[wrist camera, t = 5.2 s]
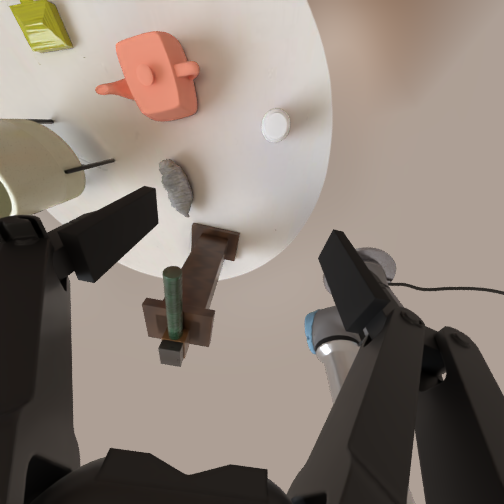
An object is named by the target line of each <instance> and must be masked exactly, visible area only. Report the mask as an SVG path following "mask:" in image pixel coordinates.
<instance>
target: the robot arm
mask: <svg viewBox="0 0 504 504" xmlns="http://www.w3.org/2000/svg"><path fill="white" fill-rule="evenodd" d="M157 224H158V211H157V199H156V189H155V188H151V187H147V186H144V187H142V188H140V189H138V190H136V191H134V192H132V193H130V194H128V195H126V196H124V197H122V198H121V199H119V200H117V201H115V202H113V203H111V204H109V205H107V206H105V207H103V208H101V209H99V210H97V211H94V212H90V213H86V214H83V215H81V216H79V217H77V218H76V219H74V220H72V221H70V222H69V223H66V224H64V225H62V226H60V227H58V228H56V229H54V230H52V231H50V232H48V233H47V232H46V230H45V228H44V226H43V224H42V222H41V220H40V218H38V217H36V216H32V215H13V216H7V217H3V218H0V504H415V502H414V499H413V497H412V494H411V492H410V489H409V487H408V485H409V476H410V467H411V458H412V449H413V440H414V439H413V438H414V430H415V433H416V440H417V447H418V454H419V460H420V467H421V474H422V481H423V487H424V494H425V501H426V504H504V396H503V394H502V392H501V390H500V388H499V386H498V384H497V382H496V381H495V379H494V377H493V375H492V373H491V371H490V369H489V367H488V365H487V364H486V362H485V360H484V358H483V356H482V354H481V353H480V351H479V349H478V347H477V346H476V344H474V342H473V341H472V340H471V339H470V338H469V337H468V336H467V335H465V334H464V333H462V332H460V331H458V330H456V329H454V328H451V327H446V326H445V327H444V328H442V329H441V330H440V331H438V332H437V331H435V330H433V329H430V328H428V327H426V326H425V324H424V322H423V321H422V320H421V319H420V318H419V317H418V316H417V315H416V314H415V313H413V312H412V311H410V310H408V309H406V308H404V307H403V305H402V304H401V303H400V301H399V300H398V299H397V297H396V296H395V295H394V293H393V292H392V291H391V289H390V288H389V286H388V285H390V286H407V287H410V288H413V289H416V290H421V291H439V290H478V291H488V292H494V293H499V294H503V295H504V292H503V291H498V290H493V289H487V288H475V287H442V288H420V287H416V286H413V285H410V284H406V283H387V280H386V273H385V270H384V269H383V268H382V266H381V265H380V264H379V263H377V262H375V261H372V260H362V258H361V257H360V256H359V254H358V253H357V251H356V250H355V248H354V247H353V245H352V244H351V243H350V241H349V240H348V238H347V237H346V235H345V234H344V232H342V231H338V230H333V231H332V233H331V235H330V237H329V238H328V241H327V242H326V244H325V246H324V248H323V250H322V252H321V254H320V256H319V258H318V259H319V262H320V264H321V267H322V270H323V272H324V275H325V278H326V281H327V283H328V286H329V289H330V291H331V294H332V297H333V299H334V302H335V304H336V306H333V307H329V308H325V309H321V310H320V309H319V310H316V311H314V312H311V313H309V314H308V315H307V316H306V318H305V333H306V337H307V342H308V346H309V348H310V350H311V352H312V353H313V354H316V356H317V358H318V359H319V360H320V361H321V362H322V363H324V365H325V370H326V374H327V379H328V383H329V387H330V391H331V396H332V401H333V407H332V409H331V411H330V413H329V416H328V418H327V420H326V422H325V424H324V426H323V428H322V431H321V433H320V435H319V437H318V439H317V441H316V444H315V446H314V448H313V450H312V452H311V455H310V456H309V459H308V460H307V462H306V464H305V465H304V467H303V468H302V469H301V471H300V472H299V473H298V475H297V476H296V478H295V479H294V481H293V483H292V485H291V487H290V488H289V491H288V493H287V495H286V494H285V493H284V492H283V491H282V490H281V489H280V488H279V487H278V486H277V485H276V484H274V483H273V482H272V481H271V480H269V479H268V478H267V469H260V468H253V467H245V466H238V465H227V466H223V467H219V468H215V469H211V470H208V471H204V472H200V473H196V474H192V475H186V474H184V473H182V472H180V471H179V470H177V469H175V468H174V467H172V466H170V465H168V464H167V463H165V462H164V461H162V460H160V459H159V458H157V457H155V456H154V455H152V454H150V453H143V452H136V451H129V450H121V449H114V448H110V450H109V452H108V453H107V456H106V457H104V458H100V459H98V460H95V461H92V462H90V463H88V464H85V465H83V466H81V467H80V455H79V447H78V443H77V440H76V437H75V434H74V428H73V393H72V392H73V391H72V349H71V348H72V347H71V303H70V302H71V301H70V280H69V278H68V275H70V274H71V273H72V272H73V271H75V273H76V276H77V278H78V280H82V281H87V282H92V283H95V282H96V281H97V280H98V279H99V278H100V277H101V276H102V275H103V274H105V273H106V272H107V271H108V270H109V269H110V268H111V267H112V266H113V265H114V264H115V263H116V262H118V261H119V260H120V259H121V258H122V257H123V256H124V255H125V254H126V253H127V252H128V251H129V250H130V249H131V248H133V247H134V246H135V245H136V244H137V243H138V242H139V241H140V240H141V239H142V238H143V237H144V236H145V235H147V234H148V233H149V232H150V231H151V230H152V229H153V228H154V227H155V226H156V225H157ZM445 372H446V373H447V374H446V378H445V380H444V381H443V378H442V374H444V373H445Z"/></svg>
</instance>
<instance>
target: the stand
mask: <svg viewBox="0 0 504 504" xmlns="http://www.w3.org/2000/svg"><path fill="white" fill-rule="evenodd" d="M239 235H240V233H238V232H233V231H228V230H224V229H219V228H214V227H210V226H205V225H200V224H196V223H193V225H192V246H191V253H190V255H189V256H188V258H187V260H186V262H185V263H184V265H183V267H182V268H181V270H182V292H183V329H187V330H189V344H194V345H200V346H206V347H209V344H210V341H211V335H212V328H213V321H214V314H215V310H210V309H209V307H210V304H211V301H212V298H213V295H214V291H215V288H216V285H217V282H218V278H219V275H220V272H221V269H222V265H223V262H224V259H226V260H231V261H234V260H235V255H236V250H237V245H238V240H239ZM142 307H143V312H144V316H145V322H146V326H147V331H148V336H149V337H154V338H160V339H162V336H163V334H164V332H165V330H166V328H167V326H168V325H167V315H166V304H165V298H164V300H163V301H162V300H156V299H151V298H146V299H145V301H144V302H143V304H142Z"/></svg>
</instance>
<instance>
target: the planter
mask: <svg viewBox="0 0 504 504" xmlns="http://www.w3.org/2000/svg"><path fill="white" fill-rule="evenodd" d="M52 123H53V121H52V120H43V119H0V218H3V217H7V216H13V215H33V214H36V213H38V212H41V211H43V210H46V209H48V208H51V207H53V206H56V205H58V204H61V203H63V202H66V201H68V200H71V199H73V198H76V197H78V196H79V195H80V194H81V193H82V192H83V190H84V188H85V174H84V170H85V169H89V168H93V167H97V166H100V165H104V164H108V163H112V162H115V160H114V159H109V160H105V161H101V162H96V163H92V164H88V165H83V164H81V163H80V161H79V159H78V158H77V156H76V154H75V153H74V152H73V150H72V149H71V148H70V147H69V145H68V144H67V143H66V142H65V141H64V140H63V139H62V138H60V137H59V136H58V135H57V134H56V133H54V132H53V131H51V130H50V129H48V128H47V127H45V126H43V125H41V124H52Z"/></svg>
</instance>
